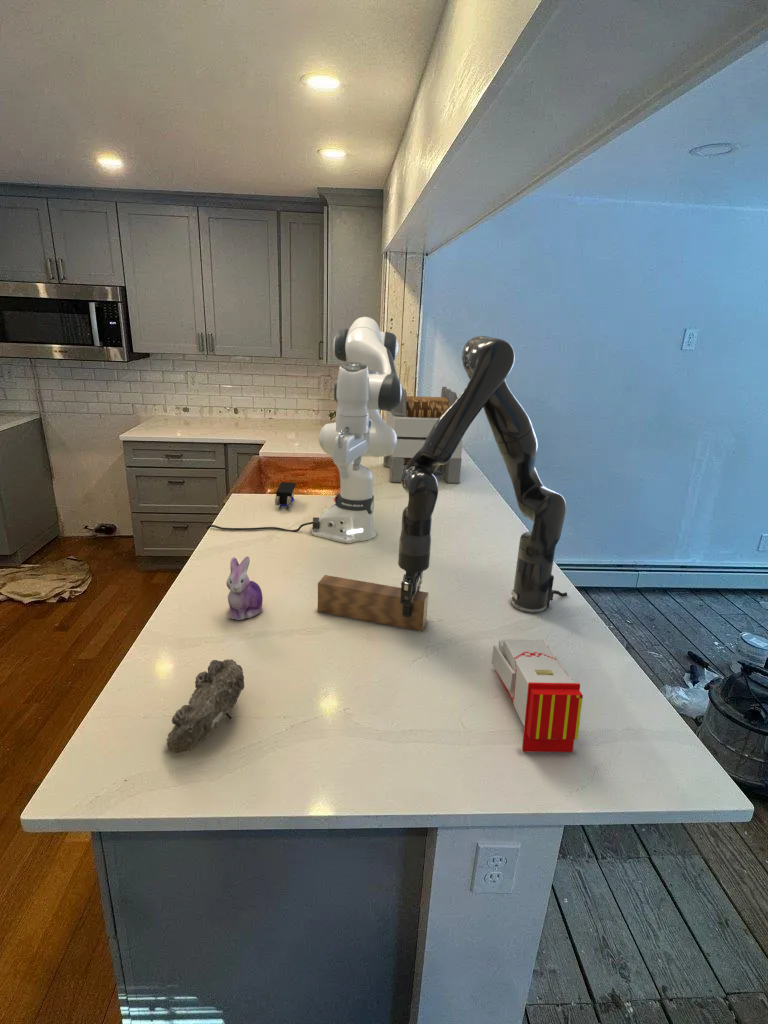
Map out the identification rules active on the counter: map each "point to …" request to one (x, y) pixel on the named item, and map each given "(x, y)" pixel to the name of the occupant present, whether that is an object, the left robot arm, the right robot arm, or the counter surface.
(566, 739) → the toy
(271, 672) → the counter surface
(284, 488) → the figurine character
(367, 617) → the bar
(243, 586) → the figurine
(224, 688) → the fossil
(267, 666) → the counter surface
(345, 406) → the left robot arm
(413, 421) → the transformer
